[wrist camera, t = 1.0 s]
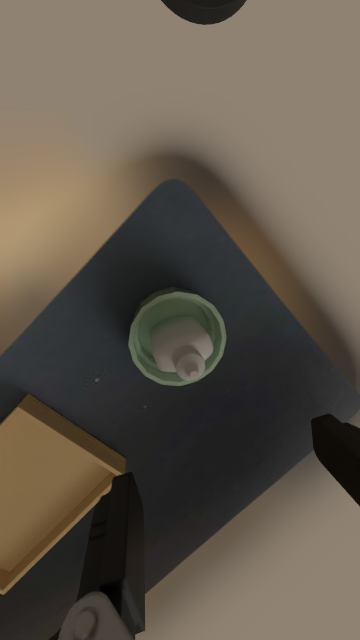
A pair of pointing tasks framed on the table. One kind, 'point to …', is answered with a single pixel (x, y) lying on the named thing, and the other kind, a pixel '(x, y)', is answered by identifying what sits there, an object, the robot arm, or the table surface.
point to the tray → (45, 483)
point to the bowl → (166, 307)
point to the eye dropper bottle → (181, 346)
